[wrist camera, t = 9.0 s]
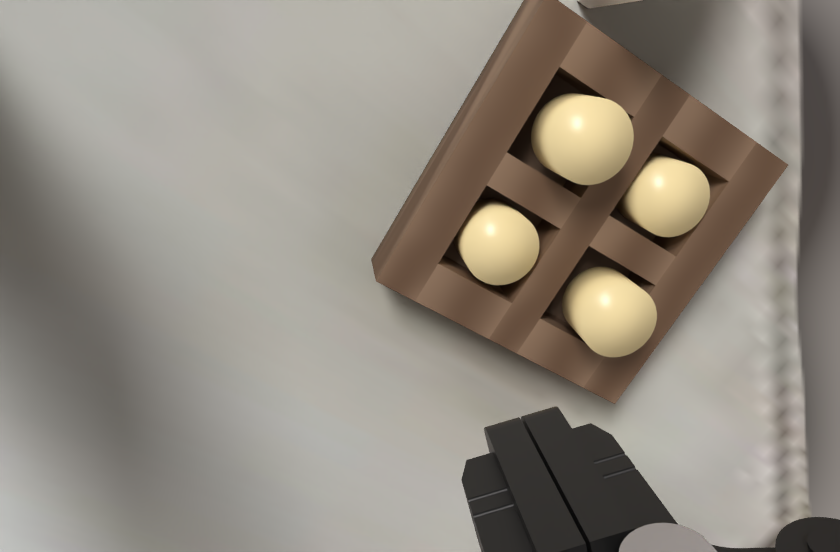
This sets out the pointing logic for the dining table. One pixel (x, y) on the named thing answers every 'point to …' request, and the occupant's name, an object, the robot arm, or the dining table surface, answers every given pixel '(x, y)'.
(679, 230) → the button
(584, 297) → the button
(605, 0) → the card
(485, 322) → the button board
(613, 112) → the button
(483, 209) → the button
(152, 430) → the dining table surface
